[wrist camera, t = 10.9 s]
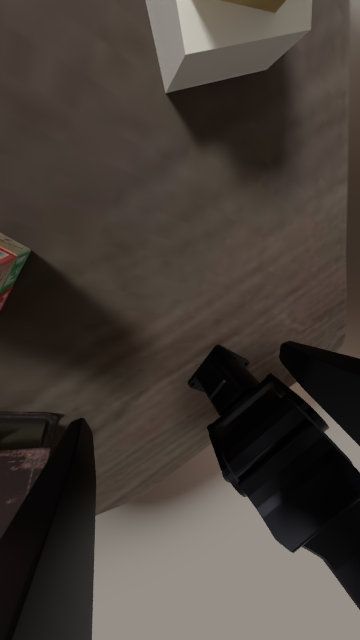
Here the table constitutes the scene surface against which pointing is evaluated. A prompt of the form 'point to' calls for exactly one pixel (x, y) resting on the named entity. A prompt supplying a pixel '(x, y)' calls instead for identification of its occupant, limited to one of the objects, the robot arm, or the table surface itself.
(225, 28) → the ivory block
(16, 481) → the diary
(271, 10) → the mustard cube
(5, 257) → the stack of blocks
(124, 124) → the table surface
